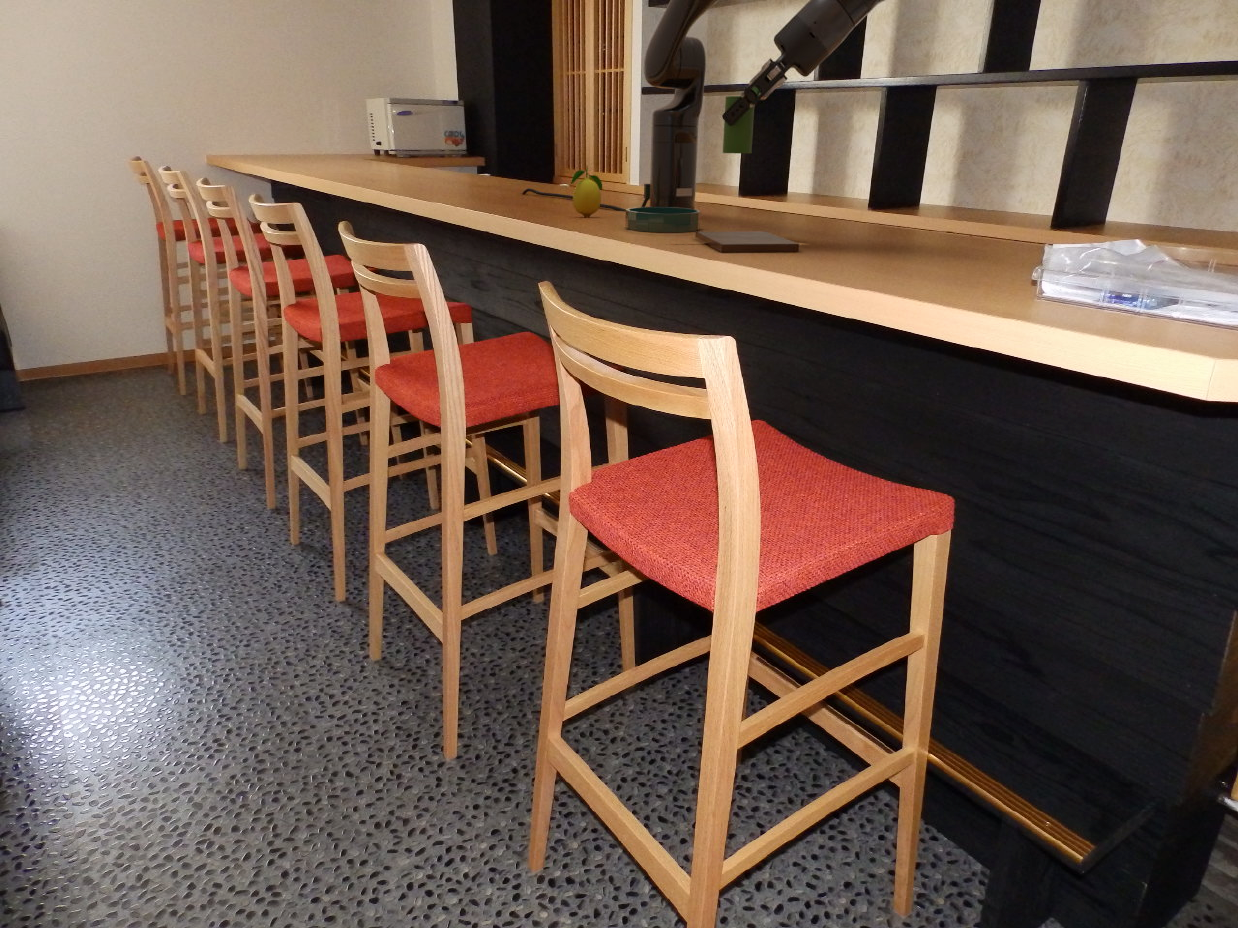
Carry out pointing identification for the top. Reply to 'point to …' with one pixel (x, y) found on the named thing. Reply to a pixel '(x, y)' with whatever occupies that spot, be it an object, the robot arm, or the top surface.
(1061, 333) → the top surface
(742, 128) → the tall green pillar
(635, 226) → the bowl
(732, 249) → the board
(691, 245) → the top surface
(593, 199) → the lemon
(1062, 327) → the top surface
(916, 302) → the top surface
